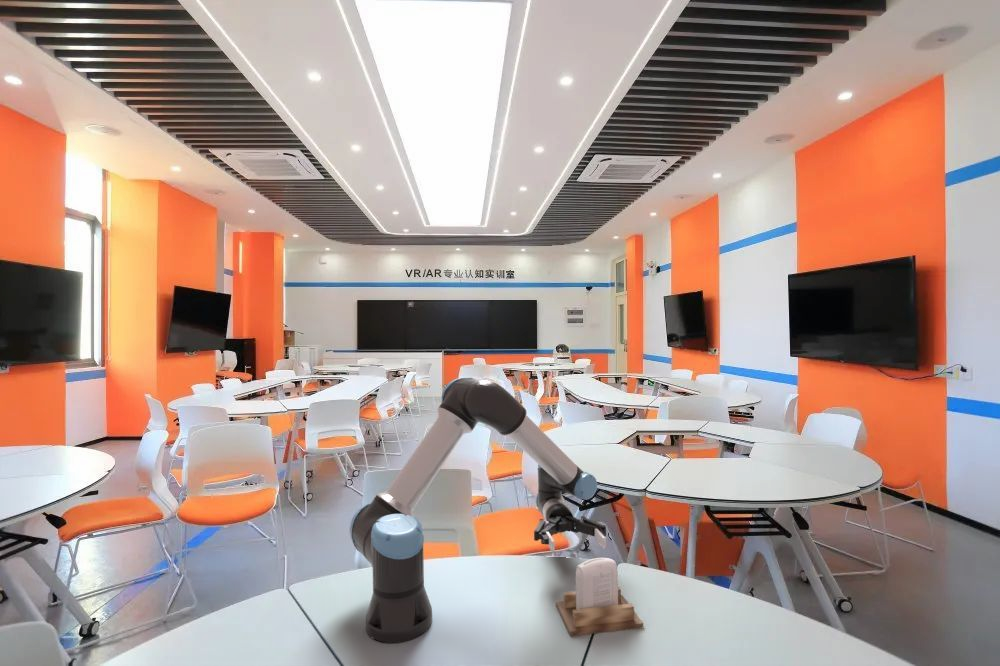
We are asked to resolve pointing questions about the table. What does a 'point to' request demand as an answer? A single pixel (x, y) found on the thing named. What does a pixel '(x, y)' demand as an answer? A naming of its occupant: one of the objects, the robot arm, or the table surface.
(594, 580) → the photo printer
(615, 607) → the rack
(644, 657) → the table surface
